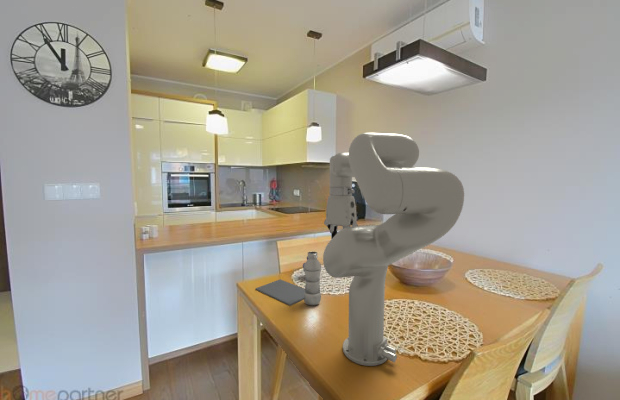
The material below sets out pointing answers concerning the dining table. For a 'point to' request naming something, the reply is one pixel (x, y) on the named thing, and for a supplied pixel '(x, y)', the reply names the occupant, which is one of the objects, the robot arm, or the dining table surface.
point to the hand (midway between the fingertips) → (340, 244)
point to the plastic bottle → (312, 279)
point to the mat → (283, 291)
